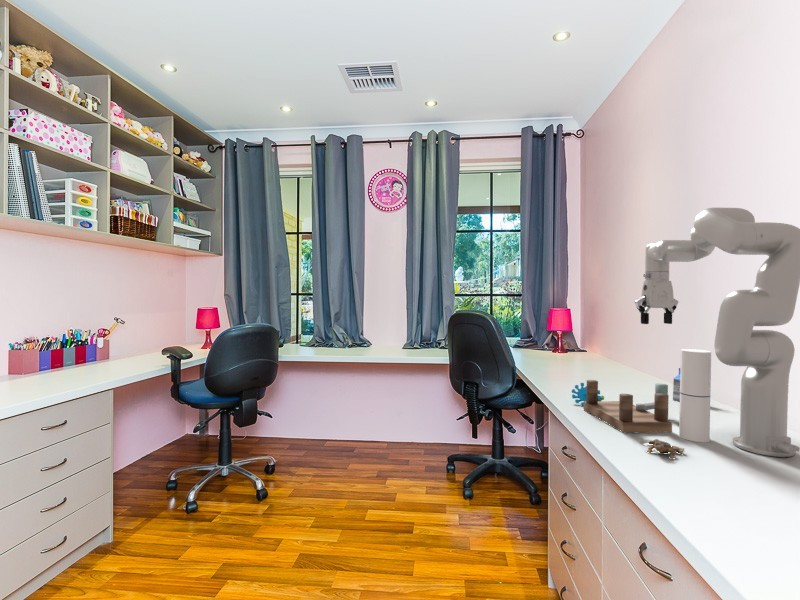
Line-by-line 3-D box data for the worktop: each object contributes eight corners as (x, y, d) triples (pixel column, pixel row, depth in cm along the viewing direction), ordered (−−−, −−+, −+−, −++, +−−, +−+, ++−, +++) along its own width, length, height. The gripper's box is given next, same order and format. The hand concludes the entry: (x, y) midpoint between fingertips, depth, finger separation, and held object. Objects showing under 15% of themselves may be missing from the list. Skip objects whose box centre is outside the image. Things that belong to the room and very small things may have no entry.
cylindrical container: (680, 439, 120) (682, 351, 119) (677, 432, 126) (679, 348, 125) (711, 443, 116) (713, 353, 116) (707, 435, 123) (708, 350, 122)
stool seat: (671, 432, 126) (672, 396, 126) (623, 432, 125) (623, 396, 125) (624, 409, 150) (625, 379, 150) (583, 410, 149) (583, 379, 149)
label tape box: (672, 400, 164) (672, 368, 163) (678, 398, 165) (678, 367, 165) (697, 405, 156) (697, 372, 156) (703, 404, 158) (703, 371, 157)
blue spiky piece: (568, 400, 156) (575, 378, 161) (568, 408, 160) (576, 387, 165) (600, 409, 150) (606, 386, 155) (600, 417, 154) (606, 395, 159)
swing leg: (642, 411, 136) (643, 388, 135) (632, 409, 139) (633, 386, 139) (670, 407, 141) (670, 385, 141) (659, 405, 144) (660, 383, 144)
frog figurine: (688, 467, 102) (689, 451, 102) (633, 454, 110) (633, 439, 110) (694, 453, 111) (695, 438, 111) (642, 442, 118) (643, 428, 118)
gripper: (643, 276, 150) (643, 324, 150) (686, 276, 153) (685, 324, 153) (628, 277, 157) (628, 323, 157) (669, 277, 160) (668, 322, 160)
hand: (656, 323), depth 155 cm, fingers open, 9 cm apart
